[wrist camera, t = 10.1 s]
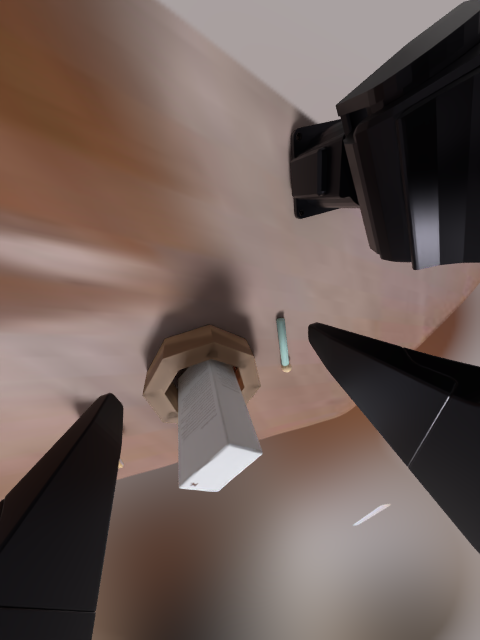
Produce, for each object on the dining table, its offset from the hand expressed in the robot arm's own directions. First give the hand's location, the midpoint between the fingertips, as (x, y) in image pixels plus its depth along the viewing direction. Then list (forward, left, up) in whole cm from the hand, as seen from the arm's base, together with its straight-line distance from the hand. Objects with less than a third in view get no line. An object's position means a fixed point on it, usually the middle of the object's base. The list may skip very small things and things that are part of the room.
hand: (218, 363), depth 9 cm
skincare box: (+3, +12, -13) cm, 18 cm away
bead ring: (+3, +12, -13) cm, 18 cm away
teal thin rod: (-8, +12, -13) cm, 19 cm away
